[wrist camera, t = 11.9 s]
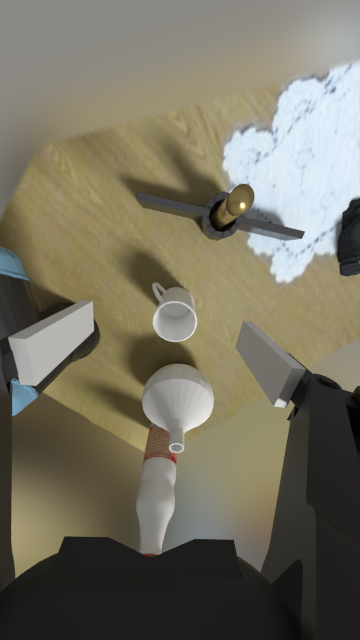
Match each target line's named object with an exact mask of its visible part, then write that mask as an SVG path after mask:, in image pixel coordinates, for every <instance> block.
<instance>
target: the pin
mask: <svg viewBox="0 0 360 640" xmlns="http://www.w3.org/2000/svg"><path fill="white" fill-rule="evenodd" d="M253 202H254V192H253V189H252V188H251V187H250V186H249V185H247V184H240V185H238V186H236V187H235V188H234V189H233V191H232V192H231V193H230V194H229V196H228V197H227V198H226V199H225V201H224V202H223V203H222V204H221V206H220V207H219V208H218V209H217V211H216V212H215V213H214V214H213V216H212V217H211V220H210V224H211V226H212V227H213V228H214V229H220V228H222V227H223V226H225V225H226V224H228V223H229V222H231V221H232V220H234V219H235V218H237V217H238V216H240V215H241V214H243V213H244V212H246V211H247V210H249V209H250V207H251V206H252V204H253Z"/></svg>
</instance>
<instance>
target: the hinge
mask: <svg viewBox="0 0 360 640" xmlns="http://www.w3.org/2000/svg"><path fill="white" fill-rule="evenodd" d="M229 194H230V193H227V192H222V193H219V194H217V195H214V196H213V197H212V198H211V199H210V201H209V202H208V203H207V204H206V206H205V208H204V207H200V206H195V205H191V204H187V203H183V202H179V201H174V200H170V199H166V198H162V197H158V196H153V195H149V194H145V193H141V192H138V193H137V201H138V202H139V203H140V204H141V206H142V207H143V208H148V209H152V210H156V211H161V212H165V213H169V214H174V215H178V216H182V217H186V218H191V219H195V220H199V221H200V224H201V228H202V232H203V233H204V234H205V235H206V236H207V237H208V238H209V239H213V240H220V239H223V238H226V237H228V236H231V235H233V234H234V233H235V231H236V230H237V229H238V230H242V231H247V232H251V233H255V234H260V235H264V236H268V237H273V238H277V239H281V240H285V241H288V240H295V239H302V237H303V235H304V233H305V231H300V230H296V229H292V228H288V227H284V226H279V225H275V224H271V223H267V222H263V221H258V220H254V219H250V218H246V217H243V214H241V215H240V216H238V217H237V218H235V219H234V220H232V221H231V222H229V226H228V228H227V229H226V231H225V232H219V231H215V229H214V228H213V227H212V226H211V225H210V221H209V214H210V210H211V209H213V208H215V207H220V206H221V204H222V203H223V202H224V201H225V199H226V198H227V197H228V196H229Z"/></svg>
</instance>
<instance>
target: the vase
mask: <svg viewBox="0 0 360 640" xmlns="http://www.w3.org/2000/svg"><path fill="white" fill-rule="evenodd" d="M213 403H214V396H213V392H212V389H211V385H210V383H209V382H208V381H207V379H206V378H205V377H204V376H203V375H202V373H201V372H199V371H198V370H197V369H196V368H194V367H191V366H189V365H185V364H171V365H166V366H164V367H162V368H160V369H159V370H158V371H157V372H155V373H154V374H153V375H152V376H151V377H150V378H149V380H148V381H147V383H146V385H145V387H144V390H143V394H142V405H143V411H144V412H145V414H146V416H147V417H148V419H149V420H150V421H151V422H153V423H154V424H156V425H157V426H159V427H161V428H163V429H165V430H167V431H168V432H169V433H170V440H169V450H170V451H171V452H174V453H180V452H182V451H183V450H184V433H185V432H186V431H188V430H190V429H192V428H194V427H197V426H199V425H200V424H202V423H203V422H205V421H206V420H207V418H208V417H209V416H210V414H211V412H212V409H213Z"/></svg>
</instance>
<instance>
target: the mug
mask: <svg viewBox="0 0 360 640" xmlns="http://www.w3.org/2000/svg"><path fill="white" fill-rule="evenodd" d="M156 287H158V288H159V289H160V290H161V291H162V293H163V294H162V295H161V296H160V294H159V292H158V290H157V288H156ZM152 289H153V292H154V294H155V296H156V298H157V299H158V301H159V304H158V306H157V309H156V311H155V313H154V316H153V326H154V329H155V331H156V333H157V334H158V335H159V336H160V337H161V338H163V339H165V340H167V341H171V342H179V341H183V340H185V339H187V338H189V337H190V336H191V335H192V334H193V333H194V331H195V329H196V325H197V318H196V313H195V309H194V300H193V297H192V295H191V294H190V293H189V292H188V291H187V290H186V289H184V288H181V287H172V288H169V289H167V290H165V289H164V288H163V287H162V286H161V285H160V284H159V283H157V282H155V283H153V284H152Z"/></svg>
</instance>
